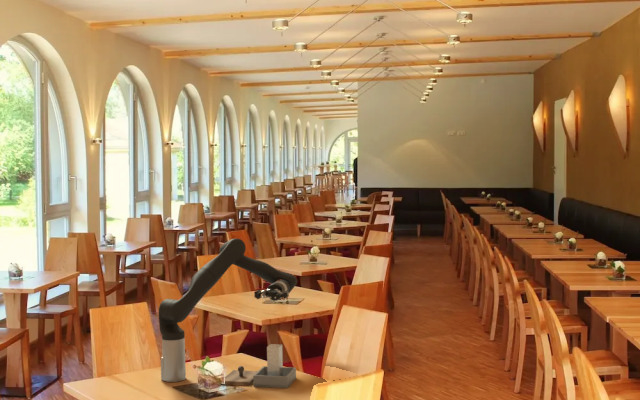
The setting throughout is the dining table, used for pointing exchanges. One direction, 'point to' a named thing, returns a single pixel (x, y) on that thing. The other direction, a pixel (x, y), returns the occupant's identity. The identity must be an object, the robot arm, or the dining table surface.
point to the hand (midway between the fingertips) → (267, 297)
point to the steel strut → (274, 360)
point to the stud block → (240, 377)
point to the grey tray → (274, 378)
